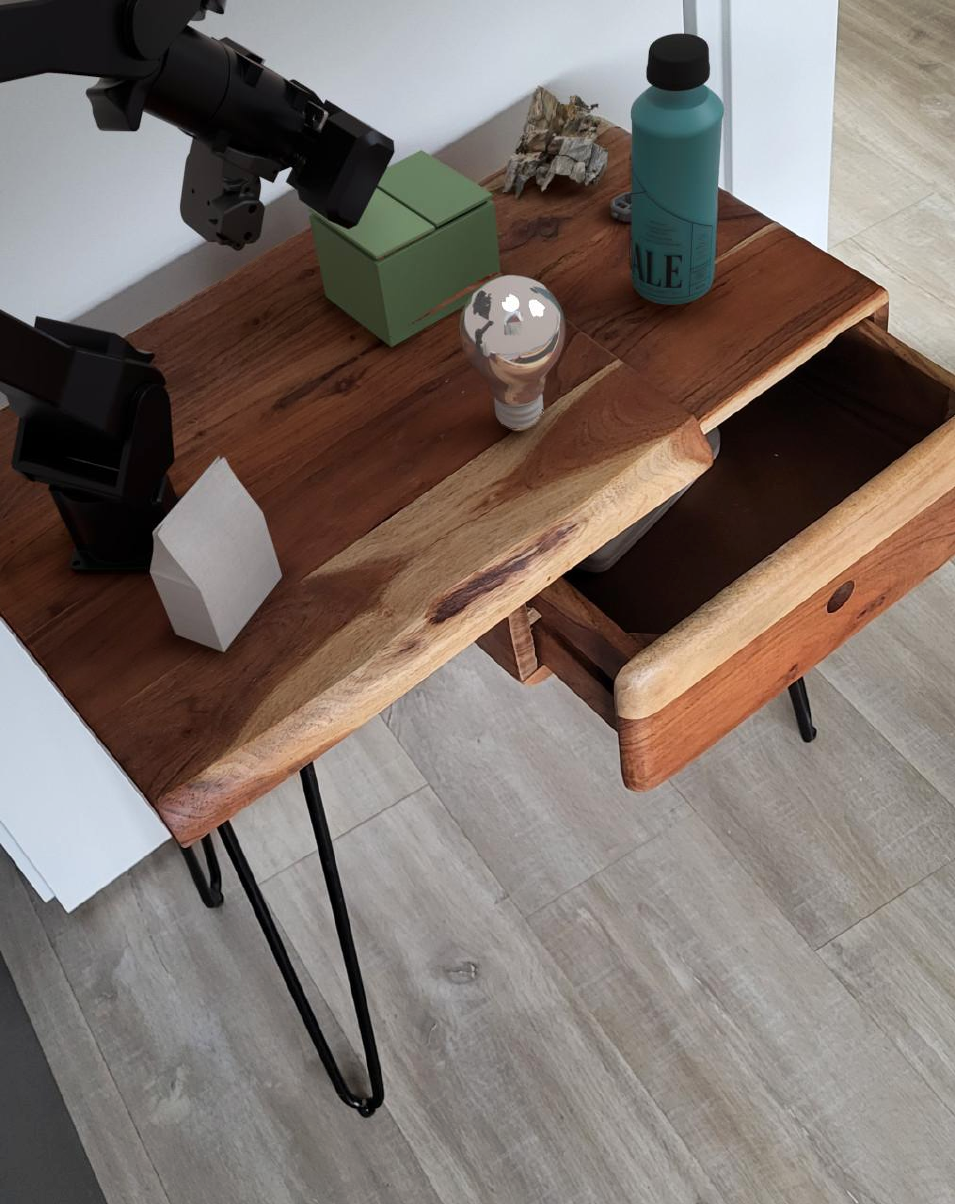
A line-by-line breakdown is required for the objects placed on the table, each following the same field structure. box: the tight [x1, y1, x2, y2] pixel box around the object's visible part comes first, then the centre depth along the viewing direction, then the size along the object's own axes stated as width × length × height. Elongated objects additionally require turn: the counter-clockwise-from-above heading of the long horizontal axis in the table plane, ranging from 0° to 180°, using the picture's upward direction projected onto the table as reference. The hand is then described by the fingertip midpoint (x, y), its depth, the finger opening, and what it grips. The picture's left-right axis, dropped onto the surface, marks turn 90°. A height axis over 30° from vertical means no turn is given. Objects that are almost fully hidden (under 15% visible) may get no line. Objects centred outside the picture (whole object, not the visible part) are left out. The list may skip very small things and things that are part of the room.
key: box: [610, 191, 631, 223], centre depth 109 cm, size 12×1×3 cm
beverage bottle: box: [628, 32, 725, 306], centre depth 93 cm, size 6×7×20 cm
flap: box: [307, 188, 435, 259], centre depth 97 cm, size 5×9×1 cm, turn 39°
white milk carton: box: [149, 455, 283, 653], centre depth 80 cm, size 4×7×10 cm, turn 153°
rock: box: [502, 85, 609, 201], centre depth 112 cm, size 8×15×4 cm, turn 165°
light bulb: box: [459, 273, 567, 432], centre depth 88 cm, size 7×7×12 cm
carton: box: [308, 149, 502, 348], centre depth 101 cm, size 11×9×8 cm
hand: (369, 172), depth 94 cm, fingers closed
